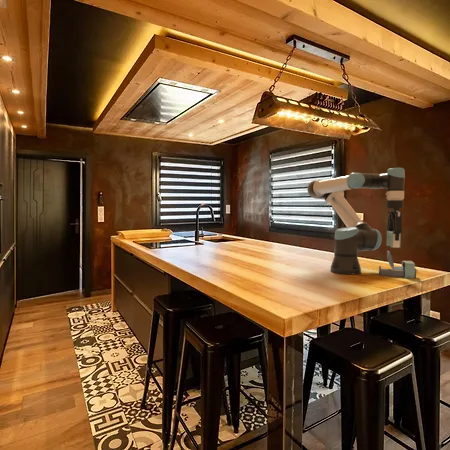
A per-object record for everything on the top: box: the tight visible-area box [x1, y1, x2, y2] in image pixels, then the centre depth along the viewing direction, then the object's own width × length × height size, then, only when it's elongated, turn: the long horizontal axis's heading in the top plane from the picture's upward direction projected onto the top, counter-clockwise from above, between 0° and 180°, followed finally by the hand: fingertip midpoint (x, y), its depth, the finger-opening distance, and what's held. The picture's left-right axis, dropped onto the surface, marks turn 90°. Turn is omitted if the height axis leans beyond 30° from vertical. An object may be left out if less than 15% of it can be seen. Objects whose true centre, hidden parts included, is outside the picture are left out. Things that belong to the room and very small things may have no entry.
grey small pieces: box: [386, 250, 418, 272], centre depth 172 cm, size 10×11×15 cm
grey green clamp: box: [378, 260, 417, 280], centre depth 160 cm, size 16×8×7 cm, turn 69°
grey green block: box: [386, 230, 402, 249], centre depth 158 cm, size 5×8×7 cm, turn 169°
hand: (393, 246), depth 158 cm, fingers closed on grey green block, 8 cm apart
